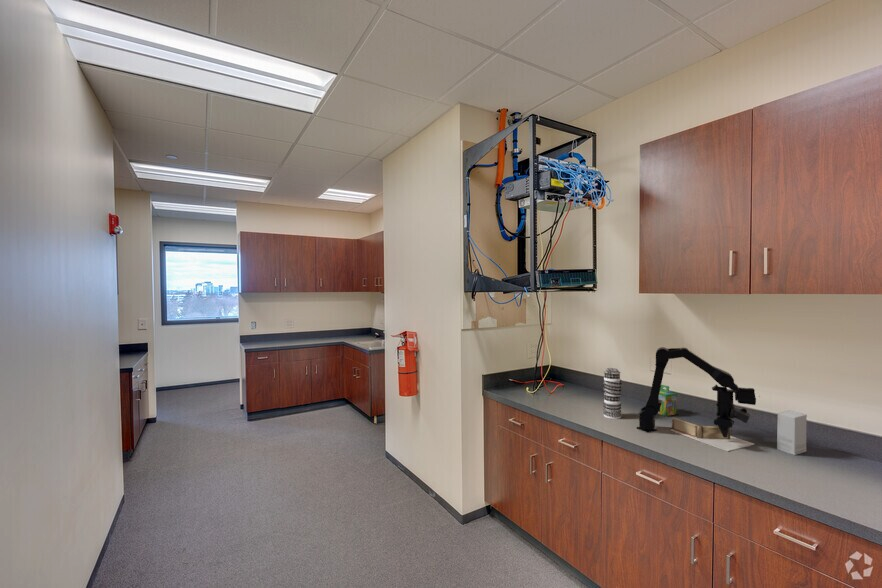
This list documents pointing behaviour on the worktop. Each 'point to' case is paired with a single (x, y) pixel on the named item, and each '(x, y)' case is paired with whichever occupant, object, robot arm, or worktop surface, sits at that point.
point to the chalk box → (667, 402)
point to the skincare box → (791, 432)
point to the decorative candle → (612, 393)
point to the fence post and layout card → (696, 433)
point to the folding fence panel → (713, 432)
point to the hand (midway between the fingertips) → (725, 437)
